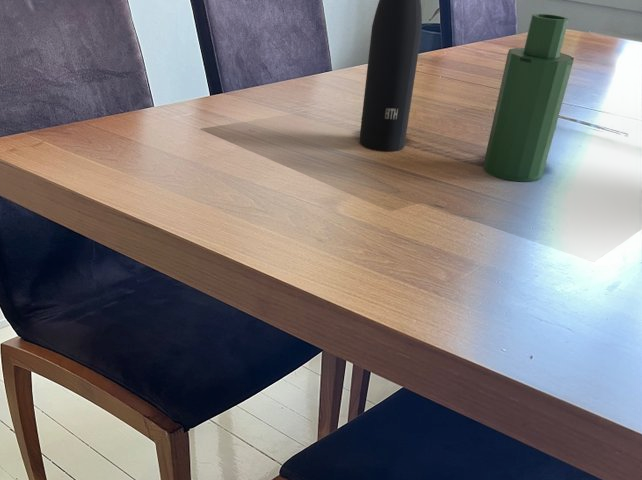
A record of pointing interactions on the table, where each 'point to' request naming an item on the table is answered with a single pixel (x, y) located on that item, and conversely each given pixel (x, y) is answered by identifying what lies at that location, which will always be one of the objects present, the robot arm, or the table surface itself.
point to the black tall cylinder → (390, 74)
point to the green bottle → (529, 102)
